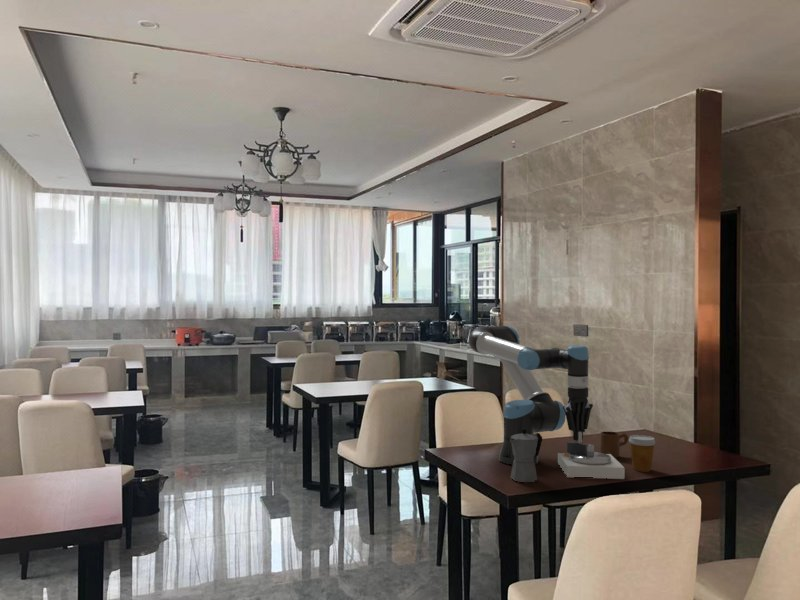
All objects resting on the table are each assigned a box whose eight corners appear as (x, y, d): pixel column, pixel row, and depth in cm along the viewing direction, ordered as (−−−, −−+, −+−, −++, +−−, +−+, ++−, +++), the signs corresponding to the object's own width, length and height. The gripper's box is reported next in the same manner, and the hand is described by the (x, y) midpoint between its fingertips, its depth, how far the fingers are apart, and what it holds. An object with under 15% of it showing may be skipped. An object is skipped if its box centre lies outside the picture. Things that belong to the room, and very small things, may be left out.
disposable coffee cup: (659, 469, 241) (660, 437, 241) (648, 474, 234) (648, 441, 234) (635, 464, 247) (635, 433, 247) (623, 469, 241) (624, 437, 241)
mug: (622, 453, 266) (622, 430, 266) (633, 457, 259) (633, 434, 259) (596, 454, 263) (596, 431, 263) (606, 459, 256) (606, 435, 256)
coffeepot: (519, 485, 218) (520, 433, 218) (500, 479, 226) (501, 428, 226) (551, 479, 227) (551, 428, 227) (531, 472, 235) (532, 423, 235)
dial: (616, 458, 240) (616, 444, 240) (602, 467, 228) (602, 451, 228) (575, 452, 249) (575, 438, 249) (559, 459, 238) (559, 445, 238)
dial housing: (567, 477, 229) (567, 462, 229) (557, 462, 249) (557, 449, 249) (624, 479, 228) (624, 464, 228) (610, 464, 247) (610, 451, 247)
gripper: (571, 389, 236) (571, 453, 237) (597, 386, 242) (597, 448, 243) (558, 386, 243) (558, 448, 244) (583, 383, 248) (583, 444, 249)
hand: (578, 448), depth 243 cm, fingers closed
